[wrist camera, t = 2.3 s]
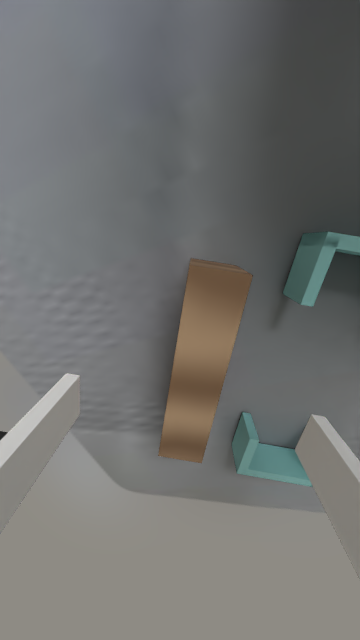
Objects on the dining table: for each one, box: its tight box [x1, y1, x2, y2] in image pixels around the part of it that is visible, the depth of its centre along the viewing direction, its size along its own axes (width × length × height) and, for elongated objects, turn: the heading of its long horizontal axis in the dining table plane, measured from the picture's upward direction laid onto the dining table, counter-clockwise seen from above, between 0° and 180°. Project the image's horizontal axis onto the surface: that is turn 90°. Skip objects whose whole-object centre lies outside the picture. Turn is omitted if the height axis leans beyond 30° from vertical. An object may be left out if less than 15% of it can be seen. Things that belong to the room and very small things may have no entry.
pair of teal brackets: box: [232, 232, 360, 487], centre depth 17 cm, size 21×8×3 cm, turn 171°
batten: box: [158, 258, 253, 463], centre depth 16 cm, size 15×4×5 cm, turn 171°
